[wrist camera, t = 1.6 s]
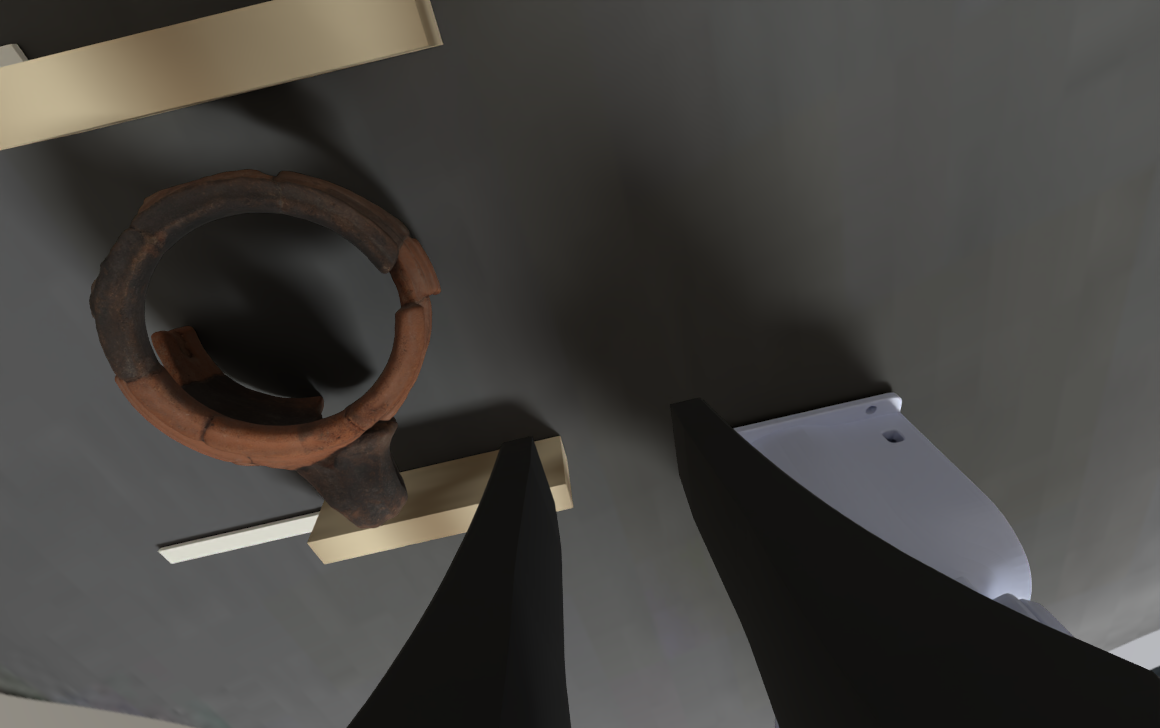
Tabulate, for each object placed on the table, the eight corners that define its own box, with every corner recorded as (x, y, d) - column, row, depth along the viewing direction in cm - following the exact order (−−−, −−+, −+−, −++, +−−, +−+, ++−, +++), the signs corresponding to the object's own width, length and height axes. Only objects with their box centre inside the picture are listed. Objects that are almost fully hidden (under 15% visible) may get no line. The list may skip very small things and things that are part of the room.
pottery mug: (97, 269, 17) (-92, 244, 10) (353, 162, 20) (354, 81, 13) (303, 530, 21) (278, 654, 14) (496, 407, 24) (562, 454, 16)
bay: (17, 44, 13) (11, 44, 13) (351, 519, 25) (350, 523, 24) (-301, 121, 14) (-311, 123, 13) (174, 560, 25) (171, 563, 24)
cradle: (424, -20, 14) (404, -32, 11) (567, 458, 24) (573, 507, 21) (38, 75, 14) (-65, 83, 11) (344, 509, 24) (324, 564, 22)
